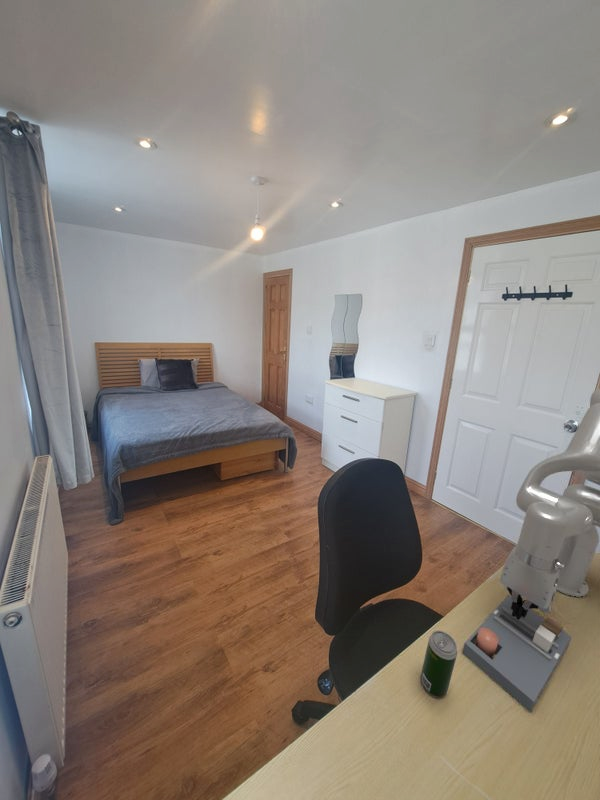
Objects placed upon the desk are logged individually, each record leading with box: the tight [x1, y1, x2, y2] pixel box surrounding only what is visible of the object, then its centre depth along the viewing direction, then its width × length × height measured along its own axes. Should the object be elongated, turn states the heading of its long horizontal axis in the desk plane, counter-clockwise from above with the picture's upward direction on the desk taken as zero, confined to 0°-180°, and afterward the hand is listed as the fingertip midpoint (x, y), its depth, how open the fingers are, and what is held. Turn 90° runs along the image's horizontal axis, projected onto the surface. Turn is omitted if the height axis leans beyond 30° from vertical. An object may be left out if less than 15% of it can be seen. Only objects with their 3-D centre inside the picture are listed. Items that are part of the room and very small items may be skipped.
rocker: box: [541, 616, 564, 637], centre depth 78 cm, size 5×3×1 cm, turn 127°
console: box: [461, 594, 573, 713], centre depth 76 cm, size 24×14×4 cm, turn 126°
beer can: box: [420, 630, 458, 699], centre depth 66 cm, size 5×5×12 cm
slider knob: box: [532, 625, 556, 653], centre depth 74 cm, size 3×3×3 cm
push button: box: [475, 628, 499, 657], centre depth 74 cm, size 4×4×4 cm
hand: (517, 614), depth 79 cm, fingers closed
